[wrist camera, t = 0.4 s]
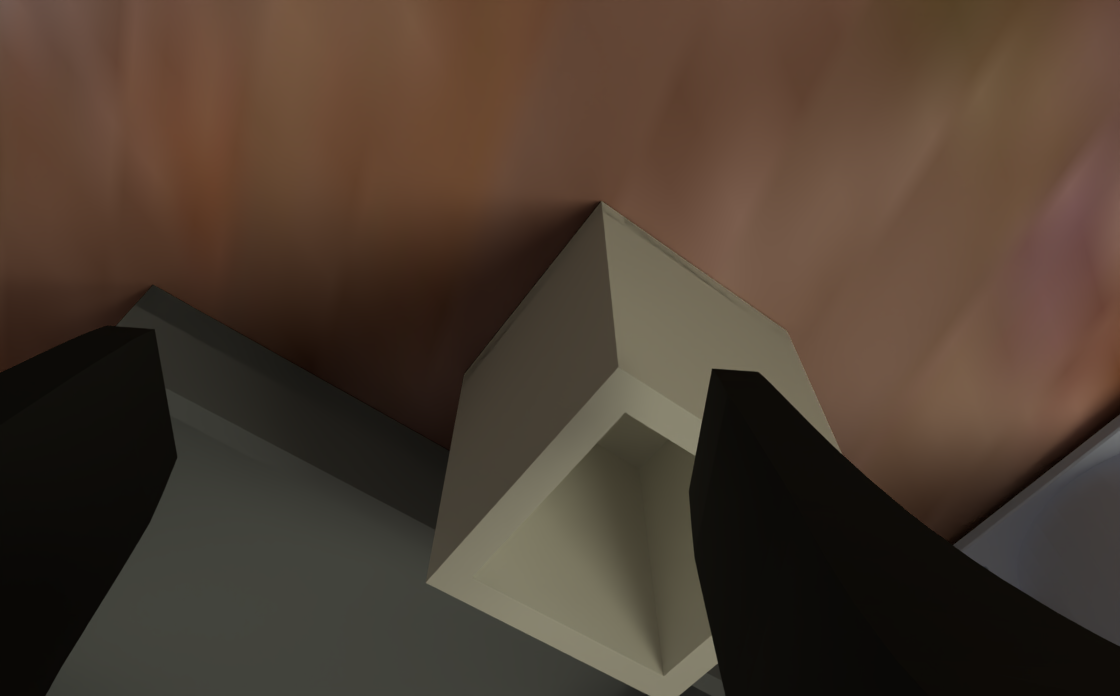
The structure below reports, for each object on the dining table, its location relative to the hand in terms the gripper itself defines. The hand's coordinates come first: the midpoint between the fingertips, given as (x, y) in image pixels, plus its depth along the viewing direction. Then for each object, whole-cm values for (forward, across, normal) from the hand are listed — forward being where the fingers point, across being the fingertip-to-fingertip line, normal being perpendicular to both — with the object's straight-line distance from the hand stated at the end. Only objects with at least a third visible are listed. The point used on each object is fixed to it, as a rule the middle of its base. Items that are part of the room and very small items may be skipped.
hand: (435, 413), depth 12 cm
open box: (+9, -3, +4) cm, 10 cm away
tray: (+9, +4, +15) cm, 18 cm away
